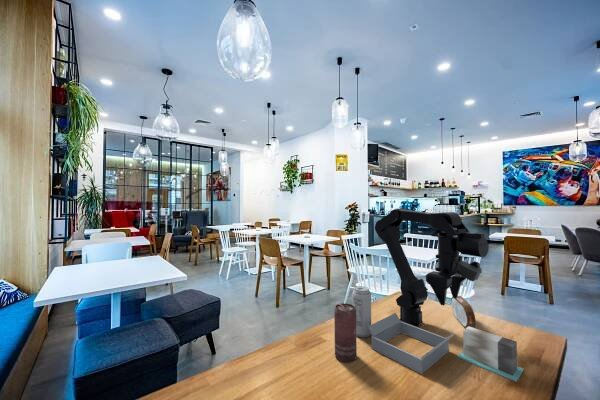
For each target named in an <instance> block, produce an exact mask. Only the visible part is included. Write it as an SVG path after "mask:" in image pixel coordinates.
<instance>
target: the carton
mask: <svg viewBox="0 0 600 400" xmlns="http://www.w3.org/2000/svg"><path fill="white" fill-rule="evenodd" d="M397 314H398V313H396V312H395V313H392V314H390V315H389V316H386V317H385V318H382V319H380V320H378V321H376V322H374V323H371V325H370V326H368V329H369V331H370V332H371V334H370V335H371V338H370V339H371V343H370V344H371V345H370V348H371V350H374V351H375V352H377V353H380V354H382V355H383V356H385V357H387V358H389V359H391V360H394V361H395V362H397V363H399V364H401V365H403V366H404V367H407V368H409V369H411V370H413V371H415V372H417V373H418V374H421V375H423V374H424V373H425V372H426V371H427V370H428V369H430V368H431V367H432V366H433V365H435V364H436V363H437V362H438V361H439V360H440V359H441V358H443V357H444V356H445V355H446V354H448V353H449V351H450V342H449V341H450V339H451V338H452V337H453V336H455V333H454V332H452V333H451V334H449V336H447V337H444V336H442V335H439V334H437V333H434V332H432V331H431V332H430V331H428V330H425V329H423V328H420V327H418V326H417V327H415V326H413V325H410V324H407V323H404V322H402V321H400V316H398V315H397ZM400 334H404V335H405V336H407V337H411V338H413V339H416V340H418V341H421V342H423V343H426V344H428V345H430V346H433V348H432V349H430V350H429V351H427V352H426V353H425V354H424V355H423V356H421V357H418V355H414V354H413V353H410V352H408V351H406V350H404V349H402V348H399V347H397V346H395V345H393V344H391V343H388V341H390V340H392V339H393V338H395V337H397V336H399V335H400Z"/></svg>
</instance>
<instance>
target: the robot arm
mask: <svg viewBox="0 0 600 400" xmlns="http://www.w3.org/2000/svg"><path fill="white" fill-rule="evenodd" d="M403 221H405V222H406V221H407V222H412V223H418V224H424V225H428V226H429V227H431V228H433V229H436V230H435V231H434V232H432V234H430V236H431V237H434V238H435V237H437V254H435V259H438V260H437V263H438V266H437V267H435V270H433V271H430V272H428V273H427V274H425V281H424V280H423V278H420V279H419V278H418V277H417V276H416V275H415V274H414V271H413V269H412V267H411V265H410V263H409V260H408V259H407V258H408V257H407V256H406V253H405V251H404V249H403V246H402V244H401V242H400V240H399V236H400V235H399V234H400V232H399V227H400V226H401V225H402V223H403ZM374 231H375V232H376V234H377V236H378V238H379V239H380V240H381V241H382V242H383V243H385V245H386V247H387V250H388V252H389V254H390V257H391V259H392V261H393V264H394V266H395V268H396V271H397V273H398V276H399V278H400V291H401V294H400V295H399V296H398V297H397V298H396V299H395V302H396V305H397V306H398V307H399V308H400V309H399V313H400V314H399V319H400V321H402V322H404V323H407V324H410V325H413V326H415V327H418V326H420V325H422V324H423V323H424V321H423V311H422V307H421V306H423V305H424V303H425V301H427V299H428V296H429V293H428V291H429V289H428V287H426V284H425V282H426V283H427V284H428V285H429V286H430V287H431V289H432V291H433V292H434V295H435V297H436V298H437V301H438V302H439V304H440V305H441V306H442V307H443V306H446V300H447V295H448V294H447V292H448V289H449V290H450V292H451V297H453V298H457V297H458V296H459V293H460V289H461V286H462V282H464V281H466V280H468V281H470V282H475V281H477V280H479V277H480V275H481V274H482V268H481V265H480V262H478V261H475V260H474V261H472V262H471V263H469V261H468V262H466V261H464V260H463V256H462V255H464V256H465V255H466V256H473V257H479V258H485V257H486V256H487V255H488V253H489V249H490V248H489V247H490V246H489V243H488V240H487V239H486V237H485V233H483V232H471V231H470V230H469V229H468V227H466V225H465V224H464V222H463V221H462V217H461V216H460V214H459V213H457V212H454V211H451V212H426V211H418V210H411V209H410V210H409V209H406V208H394V209H392V210H391V211H390V212H389V213H388V214H386V215H385V216H383V217H382V218H381V219H379V220H377V221H376V222H375V225H374ZM460 254H462V255H460Z"/></svg>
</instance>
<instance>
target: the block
mask: <svg viewBox="0 0 600 400" xmlns="http://www.w3.org/2000/svg"><path fill="white" fill-rule="evenodd" d="M462 337H463V338H462V339H463V343H462V345H463V350H462V352H464V356H465V357H468V358H470V359H473V360H475V361H478V362H480V363H483V364H485V365H488V366H490V367H493V368H495V369H498V370H500V371H503V372H505V373H508V374H510V375H514V373H515V371H516V370H517V366H518V348H517V346H518V343H517V341H516V340H514V339H513V340H512V339H509V338H507V337H503V336H501V335H496V334H493V333H492V332H488V331H485V330H481V329H478V328H476V327H475V328H472V327H469V326H468V327H467V328H465V329H463V331H462Z"/></svg>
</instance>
